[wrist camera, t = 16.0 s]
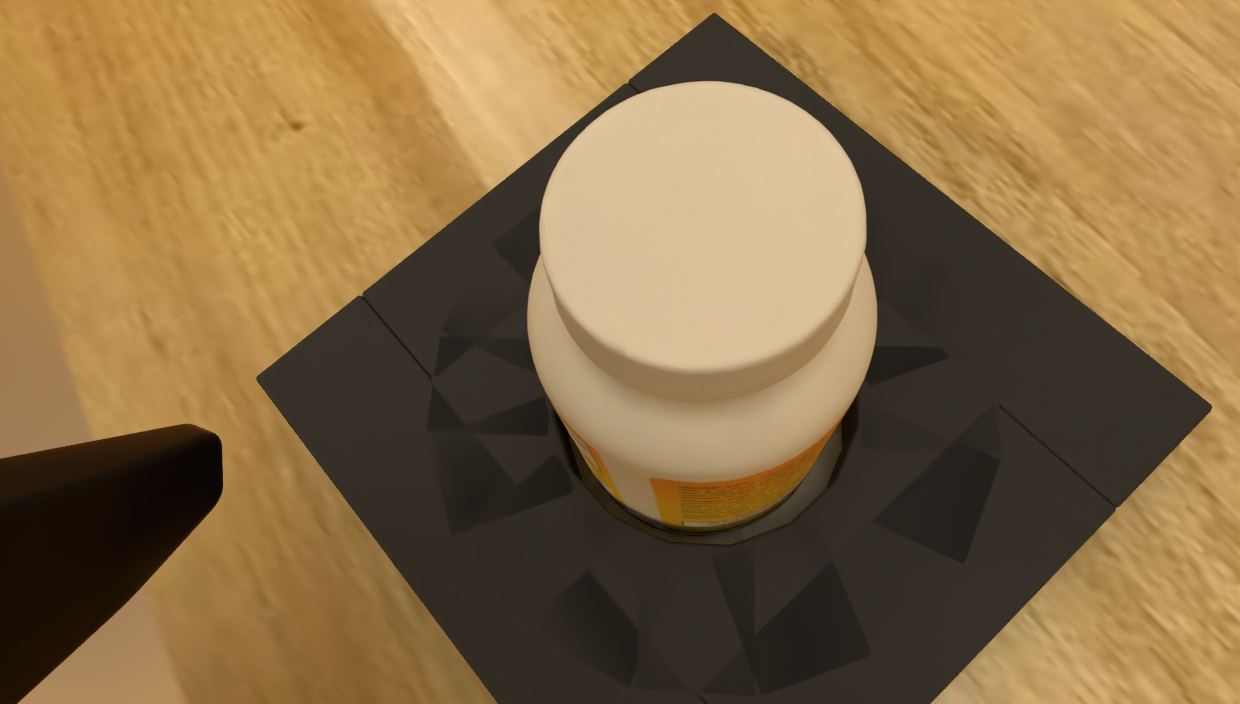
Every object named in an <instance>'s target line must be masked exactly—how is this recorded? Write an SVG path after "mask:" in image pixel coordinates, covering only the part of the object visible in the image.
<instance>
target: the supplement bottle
mask: <svg viewBox="0 0 1240 704" xmlns="http://www.w3.org/2000/svg"><path fill="white" fill-rule="evenodd" d="M539 234H540V251H541V254H540V256H539V259H538V261H537V264H536V267H535V270H534V273H533V277H532V282H531V286H530V291H529V297H528V309H527V327H528V337H529V343H530V348H531V353H532V357H533V361H534V365H535V368H536V371H537V373H538V376H539V379H540V381H541V383H542V385H543V387H544V390H545V392H546V394H547V395H548V397H549V399H550V401H551V403H552V405H553V407H554V409H555V410H556V412H557V414H558V415H559V417H560V419H561V420H562V422H563V424H564V425H565V427H566V429H567V430H568V432H569V434H570V436H571V437H572V439H573V440H574V442H575V443H576V445H577V447H578V449H579V450H580V452H581V454H582V456H583V458H584V460H585V461H586V463H587V465H588V466H589V468H590V469H591V471H592V473H593V474H594V476H595V477H596V479H597V480H598V481H599V483H600V484H601V486H602V487H603V488H604V490H605V491H606V492H607V493H608V494H609V495H610V496H611V498H612V499H613V500H614V501H615V502H616V503H617V504H618V505H620V506H621V507H622V508H623V509H624V510H626V511H627V512H628V513H629V514H631V515H633V516H634V517H636V518H638V519H639V520H641V521H643V522H645V523H647V524H649V525H652V526H654V527H656V528H659V529H663V530H666V531H670V532H674V533H679V534H685V535H711V534H719V533H724V532H729V531H733V530H736V529H740V528H742V527H745V526H748V525H750V524H753V523H755V522H757V521H759V520H761V519H762V518H764V517H766V516H767V515H769V514H771V513H772V512H773V511H775V510H776V509H777V508H779V507H780V506H781V505H782V504H783V503H784V502H786V501H787V500H788V499H789V498H790V497H791V496H792V495H793V493H794V492H795V491H796V490H797V488H798V487H799V486H800V485H801V483H802V482H803V480H804V479H805V477H806V476H807V474H808V473H809V472H810V470H811V467H812V466H813V464H814V463H815V461H816V459H817V457H818V456H819V454H820V452H821V451H822V449H823V448H824V446H825V445H826V443H827V441H828V440H829V438H830V437H831V435H832V433H833V432H834V430H835V429H836V427H837V426H838V424H839V423H840V421H841V420H842V418H843V417H844V415H845V414H846V412H847V410H848V408H849V407H850V405H851V403H852V402H853V400H854V398H855V397H856V395H857V393H858V391H859V388H860V386H861V384H862V382H863V380H864V378H865V376H866V373H867V370H868V367H869V364H870V361H871V357H872V353H873V350H874V345H875V339H876V331H877V300H876V293H875V286H874V282H873V277H872V273H871V270H870V267H869V264H868V261H867V258H866V256H865V253H864V251H865V247H866V238H867V235H866V208H865V203H864V196H863V192H862V187H861V183H860V181H859V178H858V176H857V174H856V171H855V169H854V167H853V164H852V162H851V160H850V159H849V157H848V156H847V154H846V153H845V151H844V150H843V148H842V147H841V145H840V144H839V143H838V142H837V140H836V139H835V138H834V136H833V135H832V134H831V133H830V132H829V131H828V130H827V129H826V128H825V127H824V126H823V125H822V124H821V123H820V122H819V121H818V120H816V119H815V118H814V117H812V116H811V115H810V114H808V113H807V112H806V111H804V110H803V109H801V108H800V107H798V106H796V105H795V104H793V103H792V102H790V101H788V100H786V99H784V98H781V97H779V96H777V95H775V94H773V93H770V92H767V91H763V90H760V89H758V88H755V87H750V86H745V85H742V84H735V83H728V82H719V81H699V82H687V83H680V84H675V85H670V86H665V87H660V88H655V89H651V90H648V91H646V92H644V93H641V94H638V95H635V96H633V97H631V98H628V99H627V100H625V101H623V102H621V103H619V104H618V105H616V106H614V107H612V108H611V109H609V110H607V111H606V112H604V113H603V114H602V115H601V116H599V117H598V118H597V119H596V120H594V121H593V122H592V123H591V124H590V125H588V126H587V127H586V128H585V130H584V131H583V132H581V133H580V134H579V135H578V136H577V138H576V139H575V140H574V141H573V142H572V143H571V144H570V146H569V147H568V148H567V150H566V151H565V152H564V154H563V155H562V157H561V158H560V160H559V161H558V163H557V166H556V167H555V169H554V171H553V173H552V175H551V177H550V180H549V182H548V185H547V188H546V191H545V194H544V197H543V201H542V207H541V214H540V223H539Z"/></svg>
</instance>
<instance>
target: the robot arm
mask: <svg viewBox="0 0 1240 704" xmlns="http://www.w3.org/2000/svg"><path fill="white" fill-rule="evenodd" d="M222 490H223V467H222V443H221V440H220V439H219V437H218V436H217V435H216V434H215V433H213V432H210V431H208V430H205V429H203V428H201V427H198V426H196V425H192V424H180V425H175V426H170V427H165V428H159V429H154V430H149V431H144V432H138V433H133V434H128V435H123V436H117V437H112V438H107V439H101V440H96V441H91V442H86V443H81V444H75V445H70V446H65V447H60V448H54V449H49V450H44V451H38V452H33V453H28V454H23V455H17V456H12V457H7V458H2V459H0V704H17V703H18V702H19V701H21V700H22V699H23V698H24V697H25V696H26V695H27V694H28V693H29V692H30V691H31V690H33V689H34V688H35V687H36V686H37V685H38V684H39V683H40V682H41V681H42V680H43V679H45V678H46V677H47V676H48V675H49V674H50V673H51V672H52V671H53V670H54V669H55V668H56V667H58V666H59V665H60V664H61V663H62V662H63V661H64V660H65V659H66V658H67V657H69V656H70V655H71V654H72V653H73V652H74V651H75V650H76V649H77V648H78V647H79V646H81V645H82V644H83V643H84V642H85V641H86V640H87V639H88V638H89V637H90V636H91V635H92V634H94V633H95V632H96V631H97V630H98V629H99V628H100V627H101V626H102V625H104V624H105V623H106V622H107V621H108V620H109V619H110V618H111V617H112V616H113V615H114V614H115V613H116V612H117V611H118V610H120V609H121V607H123V606H124V605H125V604H126V603H127V602H128V601H129V600H130V598H132V596H134V595H135V594H136V592H137V591H138V590H139V589H140V588H141V587H142V586H143V585H144V584H145V583H146V582H147V581H148V580H149V579H150V578H151V576H152V575H153V574H154V573H155V572H156V571H157V570H158V569H159V568H160V566H161V565H162V564H163V563H164V562H165V561H166V560H167V559H168V558H169V557H170V555H171V554H172V553H173V552H174V551H175V550H176V549H177V548H178V547H179V546H180V544H181V543H182V542H183V541H184V540H185V539H186V538H187V537H188V536H189V535H190V533H191V532H192V531H193V530H194V529H195V528H196V527H197V526H198V525H199V524H200V522H201V521H202V520H203V519H204V518H205V517H206V516H207V515H208V514H209V512H210V511H211V510H212V509H213V508H214V507H215V505H216V504H217V502H218V501H219V499H220V496H221V494H222Z"/></svg>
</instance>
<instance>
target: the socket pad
mask: <svg viewBox="0 0 1240 704" xmlns="http://www.w3.org/2000/svg"><path fill="white" fill-rule="evenodd" d="M699 81H719V82H728V83H735V84H742V85H745V86H750V87H755V88H758V89H760V90H763V91H767V92H770V93H773V94H775V95H777V96H779V97H781V98H784V99H786V100H788V101H790V102H792V103H793V104H795V105H796V106H798V107H800V108H801V109H803V110H804V111H806V112H807V113H808V114H810V115H811V116H812V117H814V118H815V119H816V120H818V121H819V122H820V123H821V124H822V125H823V126H824V127H825V128H826V129H827V130H828V131H829V132H830V133H831V134H832V135H833V136H834V138H835V139H836V140H837V142H838V143H839V144H840V145H841V147H842V148H843V150H844V151H845V153H846V154H847V156H848V157H849V159H850V160H851V162H852V164H853V167H854V169H855V171H856V174H857V176H858V178H859V181H860V183H861V187H862V192H863V196H864V203H865V208H866V235H867V238H866V247H865V251H864V253H865V256H866V258H867V261H868V264H869V267H870V270H871V273H872V277H873V282H874V286H875V293H876V300H877V331H876V339H875V345H874V350H873V353H872V357H871V361H870V364H869V367H868V370H867V373H866V376H865V378H864V380H863V382H862V384H861V386H860V388H859V391H858V393H857V395H856V397H855V398H854V400H853V402H852V403H851V405H850V407H849V408H848V410H847V412H846V414H845V415H844V417H843V418H842V437H843V448H842V451H841V453H840V456H839V458H838V461H837V463H836V465H835V468H834V470H833V473H832V475H831V478H830V480H829V482H828V485H827V487H826V490H825V491H824V492H823V493H822V494H821V495H820V496H818V497H817V498H816V499H815V500H814V501H813V502H812V503H811V504H810V505H809V506H808V507H807V508H806V509H805V510H804V511H803V512H802V513H801V514H800V515H799V516H797V517H796V518H795V519H794V520H793V521H792V522H791V523H790V524H788V525H785V526H782V527H779V528H777V529H774V530H771V531H768V532H766V533H763V534H760V535H758V536H755V537H752V538H749V539H747V540H744V541H741V542H738V543H736V544H733V545H716V544H697V543H677V542H667V541H664V540H662V539H660V538H658V537H656V536H654V535H652V534H650V533H648V532H646V531H644V530H642V529H640V528H637V527H635V526H633V525H631V524H629V523H627V522H625V521H623V520H621V519H619V518H617V517H615V516H612V515H611V514H610V513H609V512H608V510H607V509H606V508H605V507H604V506H603V505H602V504H601V502H600V501H599V500H598V499H597V498H596V497H595V496H594V495H593V493H592V492H591V491H590V490H589V489H588V488H587V487H586V485H585V484H584V483H583V481H582V478H581V475H580V472H579V469H578V466H577V463H576V460H575V457H574V454H573V451H572V448H571V445H570V442H569V439H568V430H567V429H566V427H565V425H564V424H563V422H562V420H561V419H560V417H559V415H558V414H557V412H556V410H555V409H554V407H553V405H552V403H551V401H550V399H549V397H548V395H547V394H546V392H545V390H544V387H543V385H542V383H541V381H540V379H539V376H538V373H537V371H536V368H535V365H534V361H533V357H532V353H531V348H530V343H529V337H528V327H527V309H528V297H529V291H530V286H531V282H532V277H533V273H534V270H535V267H536V264H537V261H538V259H539V256H540V254H541V251H540V234H539V223H540V214H541V207H542V201H543V197H544V194H545V191H546V188H547V185H548V182H549V180H550V177H551V175H552V173H553V171H554V169H555V167H556V166H557V163H558V161H559V160H560V158H561V157H562V155H563V154H564V152H565V151H566V150H567V148H568V147H569V146H570V144H571V143H572V142H573V141H574V140H575V139H576V138H577V136H578V135H579V134H580V133H581V132H583V131H584V130H585V128H586V127H587V126H588V125H590V124H591V123H592V122H593V121H594V120H596V119H597V118H598V117H599V116H601V115H602V114H603V113H604V112H606V111H607V110H609V109H611V108H612V107H614V106H616V105H618V104H619V103H621V102H623V101H625V100H627V99H628V98H631V97H633V96H635V95H638V94H641V93H644V92H646V91H648V90H651V89H655V88H660V87H665V86H670V85H675V84H680V83H687V82H699ZM256 379H257V382H258V383H259V384H260V386H261V387H262V388H263V390H264V391H265V392H266V394H267V395H268V396H269V398H270V399H271V400H272V402H273V403H274V404H275V406H276V407H277V408H278V410H279V411H280V412H281V414H282V415H283V416H284V418H285V419H286V420H287V422H288V423H289V424H290V426H291V427H292V428H293V430H294V431H295V432H296V434H297V435H298V436H299V438H300V439H301V440H302V442H303V443H304V444H305V446H306V447H307V448H308V450H309V451H310V452H311V454H312V455H313V456H314V458H315V459H316V461H317V462H318V463H319V465H320V466H321V467H322V469H323V470H324V471H325V473H326V474H327V475H328V477H329V478H330V479H331V481H332V482H333V483H334V485H335V486H336V487H337V489H338V490H339V491H340V493H341V494H342V495H343V497H344V498H345V499H346V501H347V502H348V503H349V505H350V506H351V507H352V509H353V510H354V511H355V513H356V514H357V515H358V517H359V518H360V519H361V521H362V522H363V523H364V525H365V526H366V527H367V529H368V530H369V531H370V533H371V534H372V535H373V537H374V538H375V540H376V541H377V542H378V544H379V545H380V546H381V548H382V549H383V550H384V552H385V553H386V554H387V556H388V557H389V558H390V560H391V561H392V562H393V564H394V565H395V566H396V568H397V569H398V570H399V572H400V573H401V574H402V576H403V577H404V578H405V580H406V581H407V582H408V584H409V585H410V586H411V588H412V589H413V590H414V592H415V593H416V594H417V596H418V597H419V598H420V600H421V601H422V602H423V604H424V605H425V606H426V608H427V609H428V610H429V612H430V613H431V614H432V616H433V617H434V619H435V620H436V621H437V623H438V624H439V625H440V627H441V628H442V629H443V631H444V632H445V633H446V635H447V636H448V637H449V639H450V640H451V641H452V643H453V644H454V645H455V647H456V648H457V649H458V651H459V652H460V653H461V655H462V656H463V657H464V659H465V660H466V661H467V663H468V664H469V665H470V667H471V668H472V669H473V671H474V672H475V673H476V675H477V676H478V677H479V679H480V680H481V681H482V683H483V684H484V685H485V687H486V688H487V689H488V691H489V692H490V693H491V695H492V696H493V698H494V699H495V700H496V702H497V703H498V704H930V703H931V702H932V701H933V700H934V699H935V698H936V697H937V696H938V695H939V694H940V693H941V692H942V691H943V690H944V689H945V688H946V687H947V686H948V685H949V684H950V683H951V682H952V681H953V679H954V678H955V677H956V676H957V675H958V674H959V673H960V672H961V671H962V670H963V669H964V668H965V667H966V666H967V665H968V664H969V663H970V662H971V661H972V660H973V659H974V658H975V657H976V656H977V654H978V653H979V652H980V651H981V650H982V649H983V648H984V647H985V646H986V645H987V644H988V643H989V642H990V641H991V640H992V639H993V638H994V637H995V636H996V635H997V634H998V633H999V632H1000V631H1001V629H1002V628H1003V627H1004V626H1005V625H1006V624H1007V623H1008V622H1009V621H1010V620H1011V619H1012V618H1013V617H1014V616H1015V615H1016V614H1017V613H1018V612H1019V611H1020V610H1021V609H1022V608H1023V607H1024V606H1025V604H1026V603H1027V602H1028V601H1029V600H1030V599H1031V598H1032V597H1033V596H1034V595H1035V594H1036V593H1037V592H1038V591H1039V590H1040V589H1041V588H1042V587H1043V586H1044V585H1045V584H1046V583H1047V582H1048V581H1049V579H1050V578H1051V577H1052V576H1053V575H1054V574H1055V573H1056V572H1057V571H1058V570H1059V569H1060V568H1061V567H1062V566H1063V565H1064V564H1065V563H1066V562H1067V561H1068V560H1069V559H1070V558H1071V557H1072V556H1073V554H1074V553H1075V552H1076V551H1077V550H1078V549H1079V548H1080V547H1081V546H1082V545H1083V544H1084V543H1085V542H1086V541H1087V540H1088V539H1089V538H1090V537H1091V536H1092V535H1093V534H1094V533H1095V532H1096V531H1097V529H1098V528H1099V527H1100V526H1101V525H1102V524H1103V523H1104V522H1105V521H1106V520H1107V519H1108V518H1109V517H1110V516H1111V515H1112V514H1113V513H1114V512H1115V510H1116V509H1115V508H1116V507H1119V506H1120V505H1121V504H1122V503H1123V502H1124V501H1125V500H1126V499H1127V498H1128V497H1129V496H1130V495H1131V493H1132V492H1133V491H1134V490H1135V489H1136V488H1137V487H1138V486H1139V485H1140V484H1141V483H1142V482H1143V481H1144V480H1145V479H1146V478H1147V477H1148V476H1149V475H1150V474H1151V473H1152V472H1153V471H1154V470H1155V468H1156V467H1157V466H1158V465H1159V464H1160V463H1161V462H1162V461H1163V460H1164V459H1165V458H1166V457H1167V456H1168V455H1169V454H1170V453H1171V452H1172V451H1173V450H1174V449H1175V448H1176V447H1177V446H1178V445H1179V443H1180V442H1181V441H1182V440H1183V439H1184V438H1185V437H1186V436H1187V435H1188V434H1189V433H1190V432H1191V431H1192V430H1193V429H1194V428H1195V427H1196V426H1197V425H1198V424H1199V423H1200V422H1201V421H1202V420H1203V418H1204V417H1205V416H1206V415H1207V414H1208V413H1209V412H1210V411H1211V409H1212V406H1211V404H1209V403H1208V402H1207V401H1206V400H1204V399H1203V398H1202V397H1201V396H1199V395H1198V394H1197V393H1196V392H1194V391H1193V390H1192V389H1190V388H1189V387H1188V386H1187V385H1185V384H1184V383H1183V382H1182V381H1180V380H1179V379H1178V378H1177V377H1175V376H1174V375H1173V374H1171V373H1170V372H1169V371H1168V370H1166V369H1165V368H1164V367H1163V366H1161V365H1160V364H1159V363H1158V362H1156V361H1155V360H1154V359H1153V358H1151V357H1150V356H1149V355H1147V354H1146V353H1145V352H1144V351H1142V350H1141V349H1140V348H1139V347H1137V346H1136V345H1135V344H1134V343H1132V342H1131V341H1130V340H1128V339H1127V338H1126V337H1125V336H1123V335H1122V334H1121V333H1120V332H1118V331H1117V330H1116V329H1115V328H1113V327H1112V326H1111V325H1109V324H1108V323H1107V322H1106V321H1104V320H1103V319H1102V318H1101V317H1099V316H1098V315H1097V314H1096V313H1094V312H1093V311H1092V310H1091V309H1089V308H1088V307H1087V306H1085V305H1084V304H1083V303H1082V302H1080V301H1079V300H1078V299H1077V298H1075V297H1074V296H1073V295H1072V294H1070V293H1069V292H1068V291H1066V290H1065V289H1064V288H1063V287H1061V286H1060V285H1059V284H1058V283H1056V282H1055V281H1054V280H1053V279H1051V278H1050V277H1049V276H1047V275H1046V274H1045V273H1044V272H1042V271H1041V270H1040V269H1039V268H1037V267H1036V266H1035V265H1034V264H1032V263H1031V262H1030V261H1029V260H1027V259H1026V258H1025V257H1023V256H1022V255H1021V254H1020V253H1018V252H1017V251H1016V250H1015V249H1013V248H1012V247H1011V246H1010V245H1008V244H1007V243H1006V242H1004V241H1003V240H1002V239H1001V238H999V237H998V236H997V235H996V234H994V233H993V232H992V231H991V230H989V229H988V228H987V227H985V226H984V225H983V224H982V223H980V222H979V221H978V220H977V219H975V218H974V217H973V216H972V215H970V214H969V213H968V212H967V211H965V210H964V209H963V208H961V207H960V206H959V205H958V204H956V203H955V202H954V201H953V200H951V199H950V198H949V197H948V196H946V195H945V194H944V193H942V192H941V191H940V190H939V189H937V188H936V187H935V186H934V185H932V184H931V183H930V182H929V181H927V180H926V179H925V178H924V177H922V176H921V175H920V174H918V173H917V172H916V171H915V170H913V169H912V168H911V167H910V166H908V165H907V164H906V163H905V162H903V161H902V160H901V159H899V158H898V157H897V156H896V155H894V154H893V153H892V152H891V151H889V150H888V149H887V148H886V147H884V146H883V145H882V144H880V143H879V142H878V141H877V140H875V139H874V138H873V137H872V136H870V135H869V134H868V133H867V132H865V131H864V130H863V129H862V128H860V127H859V126H858V125H856V124H855V123H854V122H853V121H851V120H850V119H849V118H848V117H846V116H845V115H844V114H843V113H841V112H840V111H839V110H837V109H836V108H835V107H834V106H832V105H831V104H830V103H829V102H827V101H826V100H825V99H824V98H822V97H821V96H820V95H818V94H817V93H816V92H815V91H813V90H812V89H811V88H810V87H808V86H807V85H806V84H805V83H803V82H802V81H801V80H800V79H798V78H797V77H796V76H794V75H793V74H792V73H791V72H789V71H788V70H787V69H786V68H784V67H783V66H782V65H781V64H779V63H778V62H777V61H775V60H774V59H773V58H772V57H770V56H769V55H768V54H767V53H765V52H764V51H763V50H762V49H760V48H759V47H758V46H756V45H755V44H754V43H753V42H751V41H750V40H749V39H748V38H746V37H745V36H744V35H743V34H741V33H740V32H739V31H738V30H736V29H735V28H734V27H732V26H731V25H730V24H729V23H727V22H726V21H725V20H724V19H722V18H721V17H720V16H719V15H717V14H716V13H713V14H712V15H710V16H709V17H708V18H707V19H705V20H704V21H703V22H702V23H700V24H699V25H698V26H697V27H695V28H694V29H693V30H691V31H690V32H689V33H688V34H686V35H685V36H684V37H683V38H681V39H680V40H679V41H678V42H676V43H675V44H674V45H673V46H671V47H670V48H669V49H668V50H666V51H665V52H664V53H663V54H661V55H660V56H659V57H658V58H656V59H655V60H654V61H653V62H651V63H650V64H649V65H648V66H646V67H645V68H644V69H643V70H641V71H640V72H639V73H638V74H636V75H635V76H634V77H633V78H631V79H630V80H629V82H628V84H627V83H626V84H624V85H623V86H621V87H620V88H619V89H618V90H616V91H615V92H614V93H613V94H611V95H610V96H609V97H608V98H606V99H605V100H604V101H603V102H601V103H600V104H599V105H598V106H596V107H595V108H594V109H593V110H591V111H590V112H589V113H588V114H586V115H585V116H584V117H583V118H581V119H580V120H579V121H578V122H576V123H575V124H574V125H572V126H571V127H570V128H569V129H567V130H566V131H565V132H564V133H562V134H561V135H560V136H559V137H557V138H556V139H555V140H554V141H552V142H551V143H550V144H549V145H547V146H546V147H545V148H544V149H542V150H541V151H540V152H539V153H537V154H536V155H535V156H534V157H532V158H531V159H530V160H529V161H527V162H526V163H525V164H524V165H522V166H521V167H520V168H519V169H517V170H516V171H515V172H514V173H512V174H511V175H510V176H509V177H507V178H506V179H505V180H504V181H502V182H501V183H500V184H498V185H497V186H496V187H495V188H493V189H492V190H491V191H490V192H488V193H487V194H486V195H485V196H483V197H482V198H481V199H480V200H478V201H477V202H476V203H475V204H473V205H472V206H471V207H470V208H468V209H467V210H466V211H465V212H463V213H462V214H461V215H460V216H458V217H457V218H456V219H455V220H453V221H452V222H451V223H450V224H448V225H447V226H446V227H445V228H443V229H442V230H441V231H440V232H438V233H437V234H436V235H435V236H433V237H432V238H431V239H430V240H428V241H427V242H426V243H424V244H423V245H422V246H421V247H419V248H418V249H417V250H416V251H414V252H413V253H412V254H411V255H409V256H408V257H407V258H406V259H404V260H403V261H402V262H401V263H399V264H398V265H397V266H396V267H394V268H393V269H392V270H391V271H389V272H388V273H387V274H386V275H384V276H383V277H382V278H381V279H379V280H378V281H377V282H376V283H374V284H373V285H372V286H371V287H369V288H368V289H367V290H366V291H364V292H363V297H362V296H357V297H356V298H355V299H354V300H352V301H351V302H350V303H349V304H347V305H346V306H345V307H344V308H342V309H341V310H340V311H339V312H337V313H336V314H335V315H334V316H332V317H331V318H330V319H329V320H327V321H326V322H325V323H323V324H322V325H321V326H320V327H318V328H317V329H316V330H315V331H313V332H312V333H311V334H310V335H308V336H307V337H306V338H305V339H303V340H302V341H301V342H300V343H298V344H297V345H296V346H295V347H293V348H292V349H291V350H290V351H288V352H287V353H286V354H285V355H283V356H282V357H281V358H280V359H278V360H277V361H276V362H275V363H273V364H272V365H271V366H270V367H268V368H267V369H266V370H265V371H263V372H262V373H261V374H260V375H258V376H257V377H256Z"/></svg>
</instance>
